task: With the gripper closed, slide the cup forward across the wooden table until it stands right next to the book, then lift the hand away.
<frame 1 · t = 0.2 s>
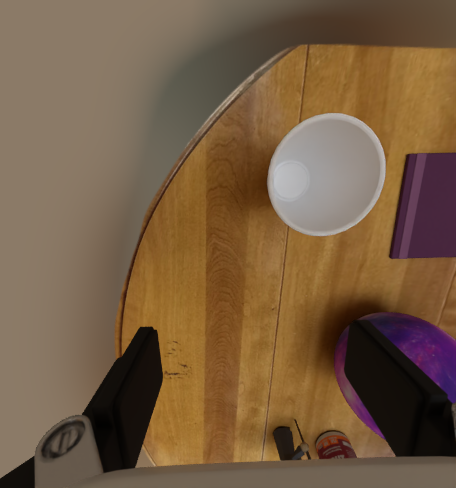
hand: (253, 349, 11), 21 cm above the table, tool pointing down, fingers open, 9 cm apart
decorative orb: (362, 334, 35), on the table
cup: (289, 181, 29), on the table
pill bottle: (330, 441, 41), on the table
wizard figurine: (283, 426, 40), on the table
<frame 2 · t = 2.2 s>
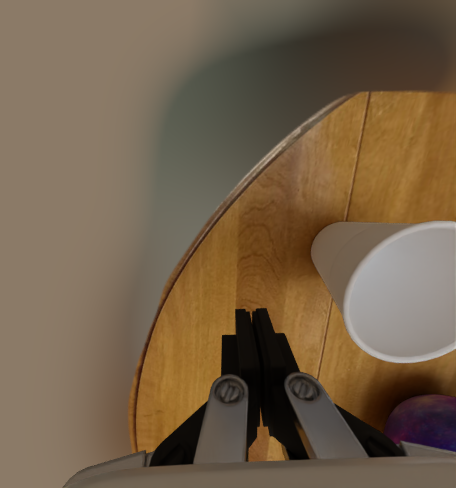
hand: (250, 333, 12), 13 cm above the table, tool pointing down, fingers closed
decorative orb: (410, 408, 31), on the table
cup: (336, 248, 25), on the table
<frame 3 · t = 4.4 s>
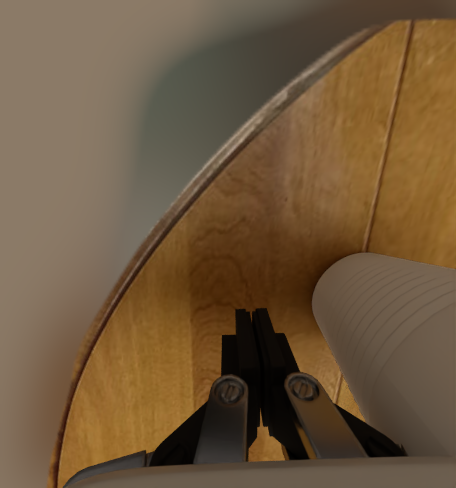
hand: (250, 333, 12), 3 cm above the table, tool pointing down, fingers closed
cup: (351, 292, 15), on the table, touching gripper
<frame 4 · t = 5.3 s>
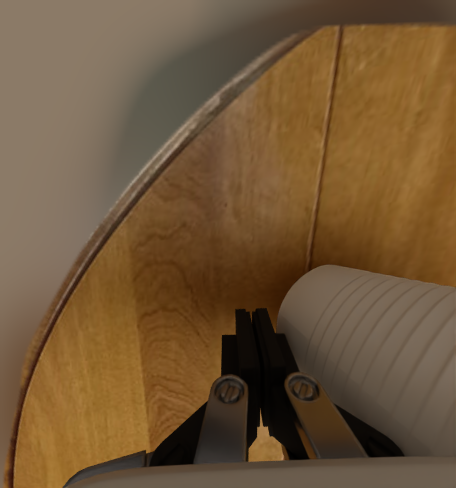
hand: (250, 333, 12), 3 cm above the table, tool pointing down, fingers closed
cup: (308, 308, 14), point 1 cm above the table, touching gripper
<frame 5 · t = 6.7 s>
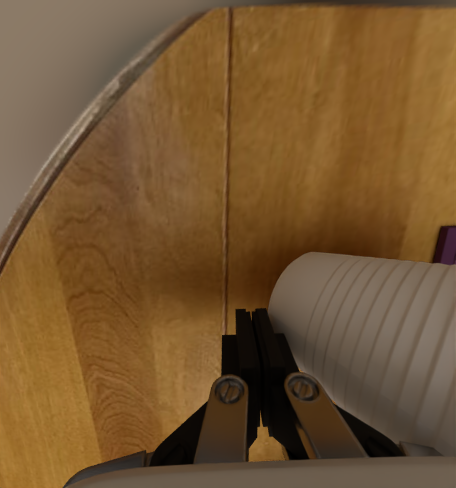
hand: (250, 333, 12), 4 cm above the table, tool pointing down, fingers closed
cup: (293, 296, 14), point 2 cm above the table, touching gripper
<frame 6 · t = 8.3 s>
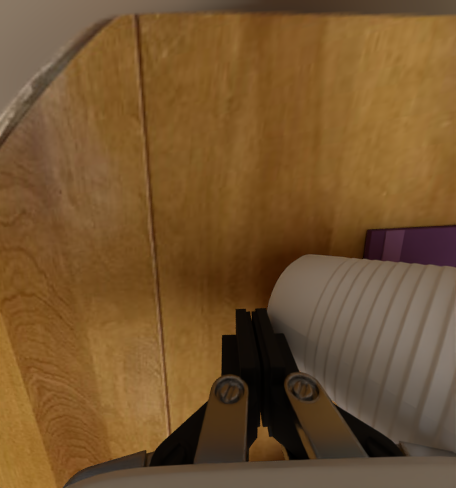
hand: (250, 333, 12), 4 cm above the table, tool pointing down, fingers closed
cup: (290, 298, 14), point 2 cm above the table, touching gripper
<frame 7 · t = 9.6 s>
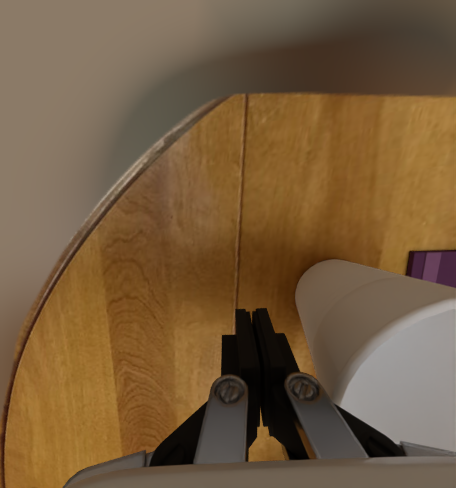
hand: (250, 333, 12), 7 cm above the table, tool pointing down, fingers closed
cup: (327, 290, 19), on the table
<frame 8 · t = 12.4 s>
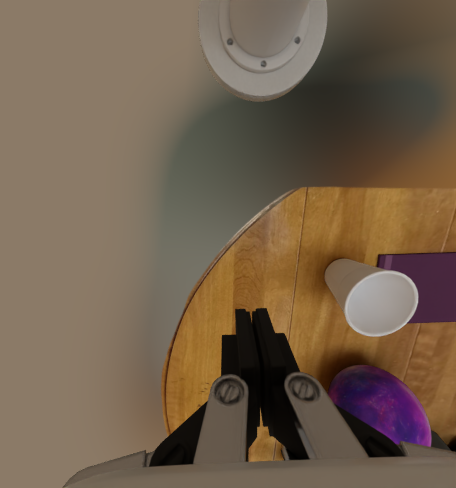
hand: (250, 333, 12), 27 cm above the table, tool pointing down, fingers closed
decorative orb: (349, 376, 46), on the table
cup: (339, 273, 40), on the table
book: (420, 288, 41), on the table
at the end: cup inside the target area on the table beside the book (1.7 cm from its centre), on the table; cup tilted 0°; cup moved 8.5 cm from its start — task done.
